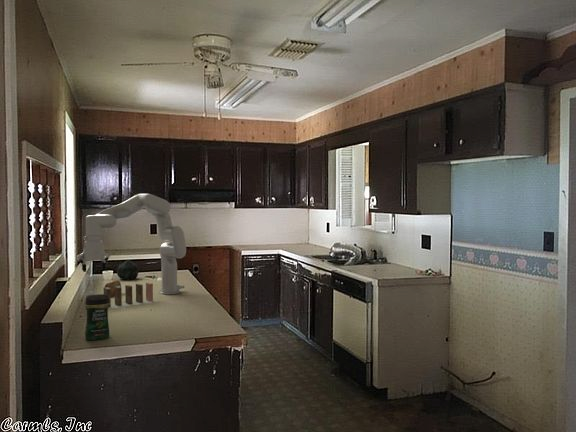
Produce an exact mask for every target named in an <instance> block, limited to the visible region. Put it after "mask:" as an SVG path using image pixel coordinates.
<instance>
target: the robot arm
mask: <svg viewBox="0 0 576 432" xmlns="http://www.w3.org/2000/svg"><path fill="white" fill-rule="evenodd" d="M143 209H145V210H146V212H147V213H149V214H151V215H152V216H154V219H155V220H156V224H157V228H158V235H159V237H160V239H161V240H163V241H165V242H162V244H161V245H160V247H159V255H160V261H161V262H160V263H161V265H160V266H161V268H160V269H161V275H160V277H161V290H159V291H158V293H159V294H161V295H176V294H177V295H178V294H179V293H180V292H181V290H180V289H182V290H183V289H185V284H184V285H179V284H178V262H177V259H182V258H184V257H185V256H186V255H187V254H186V253H187V244H186V238H185V233H184V230H183V229H182V228H181V227H180V226H178V225H173V221H172V218H171V214H170V211H171V204H170V202H169V201H168V200H166V199H164V198H161V197H159V196H157V195H155V194H152V193H151V194H150V193H138V194H135V195H133V196H132V197H130V198H128V199H127V200H125V201H123V202H121V203H119V204H116V205H114V206H110V207H107V208H106V209H103V210H101V211H99V212H98V213H96V214H90V215H87V216H85V236H82V239H83V240H84V244H83V248H82V249H83V250H82V253H80V254H78V255H77V256H76V259H77V261H78V262H79V263H80V264H81V270H82V272H84V273H86V272H87V264H86V263H87V262H88V261H97V260H98V261H101V262H100V270H101V271H105V269H106V262H108V260H109V258H110V256H111V254H110V253H108V252H106V251H105V246H104V241H103V240H102V229H112V228H114V227H115V226H116V225H117V220H118V219H124V218H129V217H131V216H132V215H134V214H136V213H138V212H139V211H141V210H143ZM81 257H82V258H83V259H82V258H81Z"/></svg>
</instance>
